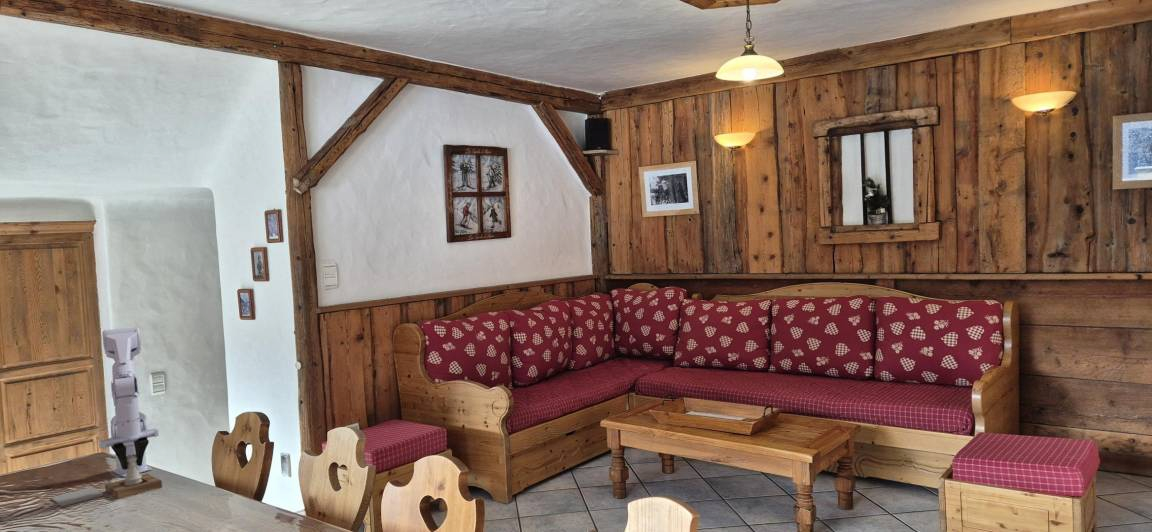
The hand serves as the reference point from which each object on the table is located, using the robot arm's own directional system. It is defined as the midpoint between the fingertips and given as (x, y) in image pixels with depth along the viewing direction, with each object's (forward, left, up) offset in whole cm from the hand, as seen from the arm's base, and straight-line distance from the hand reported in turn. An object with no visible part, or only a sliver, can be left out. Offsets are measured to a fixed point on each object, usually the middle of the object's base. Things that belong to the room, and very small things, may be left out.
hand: (131, 467), depth 214 cm
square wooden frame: (0, 0, -6) cm, 6 cm away
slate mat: (-7, -12, -6) cm, 15 cm away
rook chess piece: (0, 0, -5) cm, 5 cm away
